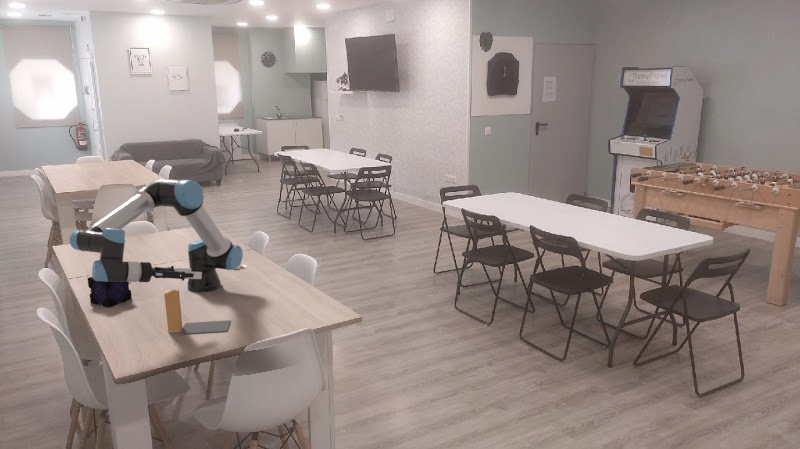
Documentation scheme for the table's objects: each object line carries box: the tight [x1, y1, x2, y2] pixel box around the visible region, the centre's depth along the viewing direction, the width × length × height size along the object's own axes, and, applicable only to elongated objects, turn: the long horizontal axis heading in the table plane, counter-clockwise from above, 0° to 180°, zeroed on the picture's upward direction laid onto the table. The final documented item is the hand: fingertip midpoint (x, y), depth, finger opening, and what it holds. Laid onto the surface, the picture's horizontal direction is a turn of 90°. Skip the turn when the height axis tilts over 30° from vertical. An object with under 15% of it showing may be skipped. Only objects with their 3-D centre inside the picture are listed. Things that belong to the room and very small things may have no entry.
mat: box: [179, 319, 232, 335], centre depth 240 cm, size 18×11×1 cm, turn 98°
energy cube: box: [87, 276, 133, 309], centre depth 270 cm, size 12×12×12 cm
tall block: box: [163, 288, 183, 333], centre depth 237 cm, size 4×4×16 cm
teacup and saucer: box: [236, 261, 247, 270], centre depth 321 cm, size 9×8×4 cm
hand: (196, 273), depth 238 cm, fingers open, 13 cm apart
